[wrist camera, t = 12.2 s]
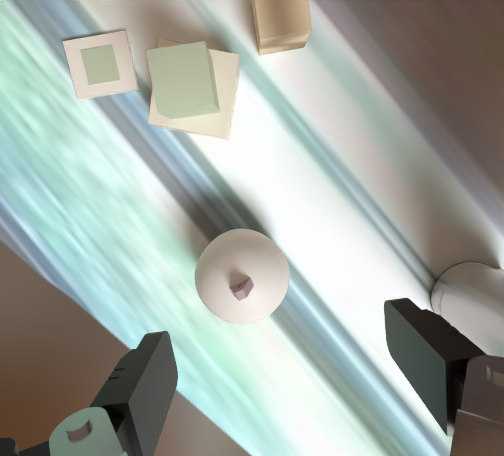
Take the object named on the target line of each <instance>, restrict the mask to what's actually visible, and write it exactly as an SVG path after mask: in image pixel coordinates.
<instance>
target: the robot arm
mask: <svg viewBox="0 0 504 456" xmlns="http://www.w3.org/2000/svg"><path fill="white" fill-rule="evenodd" d="M431 304H432V308H433V311H434V312H431V311H429V310H427V309H424V310H421V309H420V308H419V307H417V306H416V305H415V304H414V303H413V302H412V301H411V300H410V299H408V298H401V299H394V300H387V301H385V303H384V314H385V328H386V341H387V346H388V349H389V352H390V354H391V356H392V358H393V360H394V361H395V362H396V364H397V365H398V367H399V368H400V370H401V371H402V372H403V374H404V375H405V377H406V378H407V380H408V381H409V382H410V384H411V385H412V387H413V388H414V390H415V391H416V393H417V394H418V395H419V397H420V398H421V400H422V401H423V403H424V404H425V405H426V407H427V408H428V410H429V411H430V413H431V414H432V415H433V417H434V418H435V420H436V421H437V423H438V424H439V425H440V427H441V428H442V430H443V431H444V433H445V434H446V435H447V436H453V440H452V446H451V452H450V456H504V269H502V268H499V269H494V268H492V267H490V266H488V265H485V264H482V263H479V262H465V263H461V264H458V265H455V266H453V267H451V268H449V269H448V270H447V271H445V272H444V273H443V274H442V275H441V276H440V277H439V279H438V280H437V281H436V283H435V285H434V287H433V290H432V294H431ZM177 380H178V372H177V366H176V361H175V357H174V353H173V348H172V344H171V340H170V336H169V333H168V332H167V331H162V332H155V333H148V334H145V336H144V337H143V339H142V340H141V342H140V344H139V345H138V347H137V349H132V350H131V351H130V352H128V353H127V354H126V355H125V356H124V357H123V358H121V359H120V361H119V362H118V364H117V365H116V367H115V368H114V371H113V372H112V373H111V375H110V376H109V378H108V380H107V381H106V382H105V384H104V385H103V387H102V388H101V390H100V391H99V393H98V395H97V396H96V397H95V399H94V401H93V402H92V404H91V405H90V407H89V408H86V409H84V410H81V411H78V412H76V413H75V414H73V415H71V416H70V417H68V418H66V419H65V420H64V421H63V422H61V423H60V424H59V425H58V426H57V428H56V429H55V430H54V431H53V433H52V435H51V437H50V439H49V441H46V442H44V443H41V444H38V445H36V446H33V447H31V448H28V449H25V450H23V451H20V452H19V451H18V448H17V446H16V444H15V441H14V440H13V439H11V438H0V456H153V455H154V452H155V449H156V446H157V443H158V440H159V437H160V434H161V431H162V428H163V425H164V422H165V419H166V416H167V413H168V410H169V407H170V404H171V401H172V398H173V395H174V392H175V389H176V386H177Z"/></svg>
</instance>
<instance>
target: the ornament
mask: <svg viewBox="0 0 504 456" xmlns="http://www.w3.org/2000/svg"><path fill="white" fill-rule="evenodd" d="M289 276H290V275H289V267H288V263H287V261H286V258H285V256H284V254H283V253H282V251H281V250H280V249H279V247H278V246H277V245H276V244H275V243H274V242H273V241H272V240H271V239H269V238H268V237H267V236H265V235H263V234H261V233H259V232H257V231H254V230H250V229H234V230H230V231H227V232H225V233H223V234H221V235H219V236H218V237H216V238H215V239H214V240H213V241H212V242H211V243H210V244H209V245H208V246H207V247H206V248H205V250H204V251H203V252H202V254H201V256H200V258H199V260H198V263H197V266H196V270H195V285H196V289H197V292H198V295H199V297H200V299H201V301H202V302H203V304H204V305H205V306H206V307H207V309H208V310H209V311H210V312H211V313H213V314H214V315H215V316H217V317H218V318H220V319H222V320H224V321H226V322H229V323H233V324H239V325H245V324H252V323H255V322H258V321H260V320H262V319H264V318H266V317H267V316H269V315H270V314H271V313H272V312H273V311H274V310H275V309H276V308H277V307H278V306H279V305H280V303H281V302H282V300H283V298H284V296H285V294H286V292H287V289H288V285H289Z"/></svg>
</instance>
